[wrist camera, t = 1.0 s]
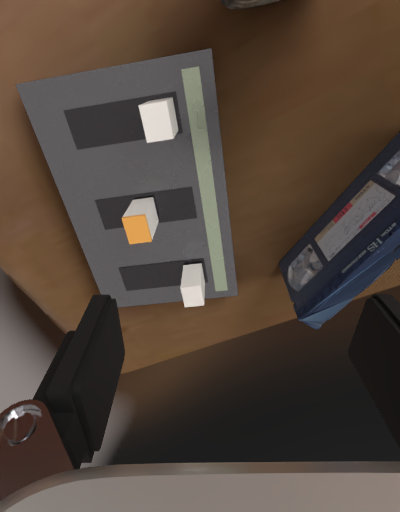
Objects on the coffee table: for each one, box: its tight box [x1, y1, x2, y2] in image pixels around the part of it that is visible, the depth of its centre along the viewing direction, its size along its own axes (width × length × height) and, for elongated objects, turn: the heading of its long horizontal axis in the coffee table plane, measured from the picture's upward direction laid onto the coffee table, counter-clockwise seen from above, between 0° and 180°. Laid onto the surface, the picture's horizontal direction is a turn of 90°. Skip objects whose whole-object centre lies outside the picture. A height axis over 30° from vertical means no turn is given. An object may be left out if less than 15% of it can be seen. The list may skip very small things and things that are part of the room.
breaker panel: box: [15, 48, 238, 307], centre depth 31 cm, size 16×24×3 cm, turn 8°
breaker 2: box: [180, 263, 205, 307], centre depth 31 cm, size 2×2×4 cm
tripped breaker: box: [121, 197, 159, 244], centre depth 27 cm, size 2×2×4 cm
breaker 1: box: [139, 97, 178, 143], centre depth 23 cm, size 2×2×4 cm
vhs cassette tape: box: [279, 132, 400, 330], centre depth 28 cm, size 18×3×10 cm, turn 146°
